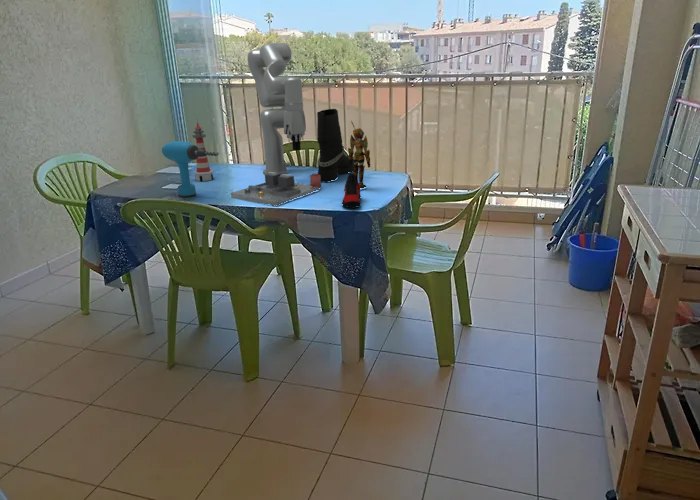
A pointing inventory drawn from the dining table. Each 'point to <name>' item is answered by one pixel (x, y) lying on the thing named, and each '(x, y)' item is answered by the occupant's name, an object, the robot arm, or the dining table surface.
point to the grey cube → (285, 180)
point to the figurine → (359, 154)
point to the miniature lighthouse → (202, 158)
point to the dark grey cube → (271, 178)
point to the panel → (273, 193)
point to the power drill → (184, 162)
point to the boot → (331, 146)
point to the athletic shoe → (351, 192)
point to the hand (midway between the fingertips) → (296, 150)
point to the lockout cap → (315, 180)
